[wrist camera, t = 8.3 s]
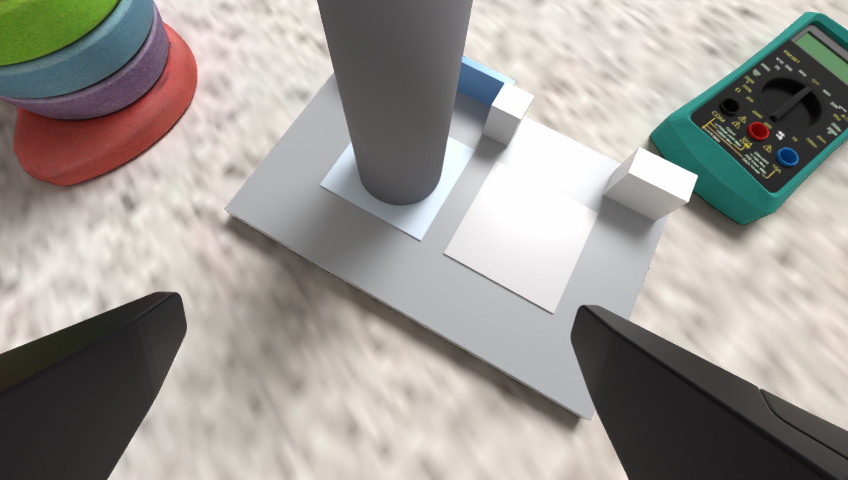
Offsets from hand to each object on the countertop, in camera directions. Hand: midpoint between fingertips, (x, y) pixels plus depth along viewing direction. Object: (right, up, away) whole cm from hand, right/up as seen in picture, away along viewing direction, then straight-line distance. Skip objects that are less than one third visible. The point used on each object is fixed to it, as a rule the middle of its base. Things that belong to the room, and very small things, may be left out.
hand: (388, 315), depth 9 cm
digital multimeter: (+22, +9, +16) cm, 29 cm away
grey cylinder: (0, +6, +12) cm, 13 cm away
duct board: (+3, +3, +12) cm, 13 cm away
